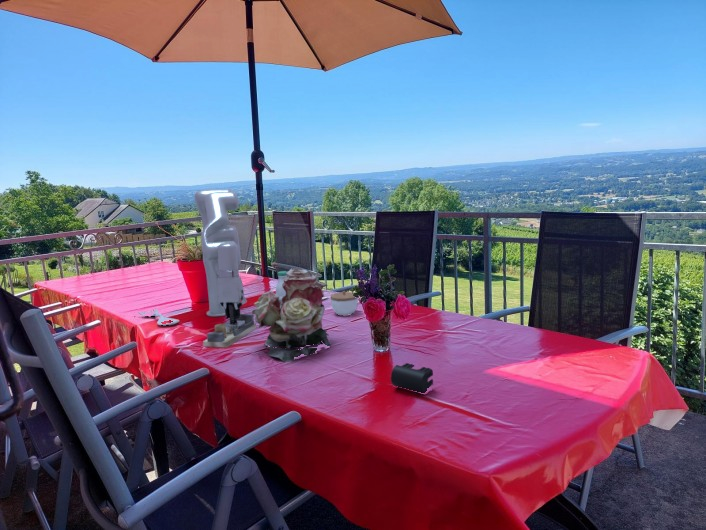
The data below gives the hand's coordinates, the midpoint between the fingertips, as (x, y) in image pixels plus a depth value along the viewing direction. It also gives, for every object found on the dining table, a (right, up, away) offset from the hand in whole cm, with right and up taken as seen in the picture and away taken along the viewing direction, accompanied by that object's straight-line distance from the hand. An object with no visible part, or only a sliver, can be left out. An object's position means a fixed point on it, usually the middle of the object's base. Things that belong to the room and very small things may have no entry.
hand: (233, 317), depth 186 cm
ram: (0, -5, 0) cm, 5 cm away
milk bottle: (+16, -2, +33) cm, 37 cm away
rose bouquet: (+29, -9, -19) cm, 36 cm away
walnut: (-2, -7, -9) cm, 11 cm away
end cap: (+66, -14, -58) cm, 89 cm away
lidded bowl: (+45, -2, +25) cm, 52 cm away
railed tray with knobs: (0, -8, -1) cm, 8 cm away
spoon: (-42, -5, +28) cm, 51 cm away
